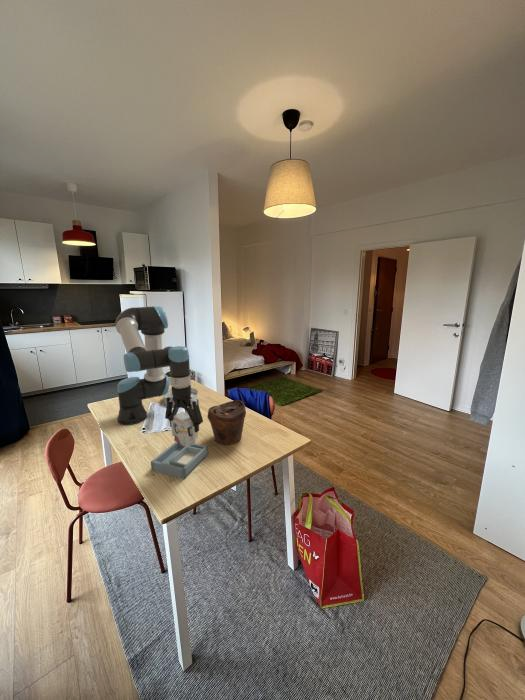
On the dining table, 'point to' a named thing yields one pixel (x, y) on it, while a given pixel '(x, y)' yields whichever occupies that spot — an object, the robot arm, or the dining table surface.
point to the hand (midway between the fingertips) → (185, 436)
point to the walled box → (179, 459)
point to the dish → (193, 395)
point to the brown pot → (227, 421)
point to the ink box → (183, 429)
